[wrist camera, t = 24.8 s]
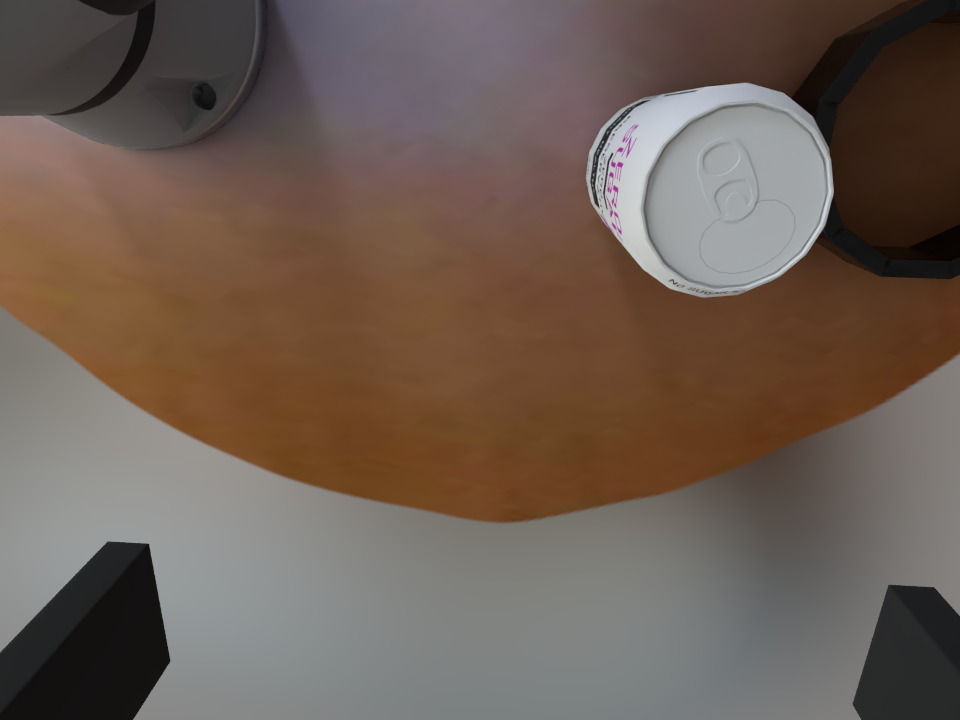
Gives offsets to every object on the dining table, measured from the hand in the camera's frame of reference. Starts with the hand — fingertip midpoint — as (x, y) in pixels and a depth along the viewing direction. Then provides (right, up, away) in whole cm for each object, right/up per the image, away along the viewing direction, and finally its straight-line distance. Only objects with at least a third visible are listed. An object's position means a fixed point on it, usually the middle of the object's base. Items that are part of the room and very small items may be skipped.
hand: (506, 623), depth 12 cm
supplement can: (+10, +16, +27) cm, 32 cm away
